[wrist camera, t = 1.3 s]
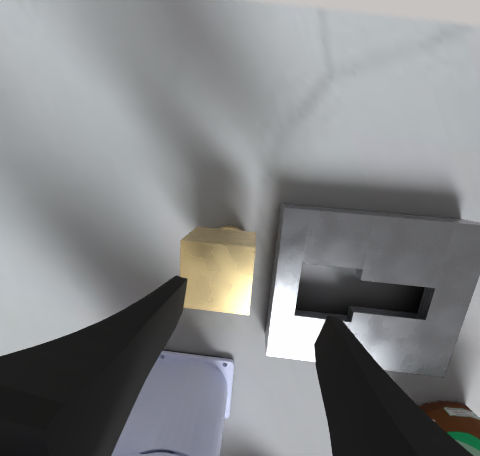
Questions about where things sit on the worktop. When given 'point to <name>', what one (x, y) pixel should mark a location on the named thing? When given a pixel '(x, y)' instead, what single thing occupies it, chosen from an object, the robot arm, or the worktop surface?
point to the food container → (456, 423)
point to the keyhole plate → (376, 270)
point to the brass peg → (218, 268)
